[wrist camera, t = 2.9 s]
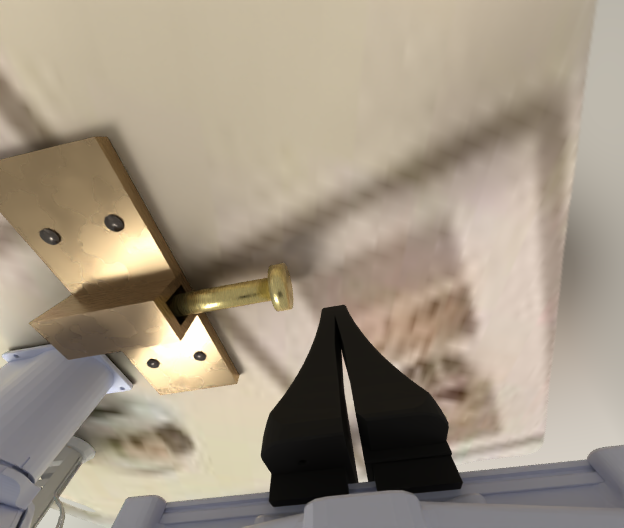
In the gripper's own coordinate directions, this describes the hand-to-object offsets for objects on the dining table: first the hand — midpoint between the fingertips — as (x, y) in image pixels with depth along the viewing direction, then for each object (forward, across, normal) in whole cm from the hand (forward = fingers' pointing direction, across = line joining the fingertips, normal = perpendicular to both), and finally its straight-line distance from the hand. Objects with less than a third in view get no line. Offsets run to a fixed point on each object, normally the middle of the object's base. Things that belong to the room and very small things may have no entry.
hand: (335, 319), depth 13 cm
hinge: (+6, +17, 0) cm, 18 cm away
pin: (+6, +8, 0) cm, 11 cm away
